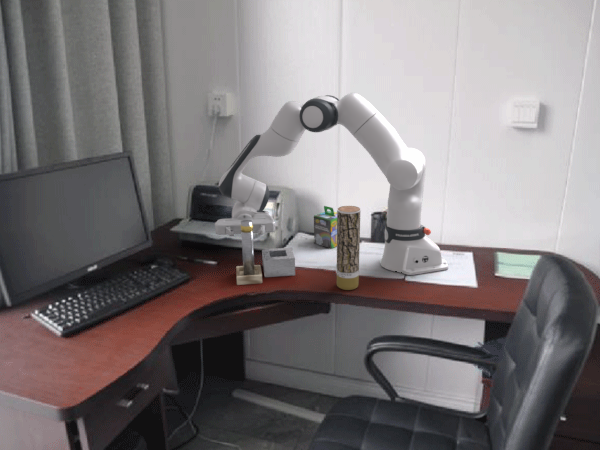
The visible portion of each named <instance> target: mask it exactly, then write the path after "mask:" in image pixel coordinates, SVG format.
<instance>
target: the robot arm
mask: <svg viewBox="0 0 600 450" xmlns="http://www.w3.org/2000/svg"><path fill="white" fill-rule="evenodd" d="M337 125H340V126H343V127H345V129H346V130H348V132H349V133H350V134H351V135H352V136H353V137H354V138H355V139H356V141H357V142H358V143H359V144H360V146H362V148H363V149H365V151H367V153H368V154H369V155H370V157H371V158H372V159H373V161H374V163H375V164H376V166H377V167H378V168H379V170H380V171H381V173H382V174H383V175H384V177H385V178H386V179H387V182H388V184H389V193H388V199H387V213H386V214H387V215H386V223H385V226H384V227H385V229H384V249H383V252H382V256H381V259H380V262H379V263H380V264H379V265H380V266H381V267H382V268H384V269H386V270H389V271H392V272H395V271H397V272H396V273H401V272H402V273H401V274H403V275H406V276H407V275H408V276H414V275H420V274H426V273H434V272H439V271H446V270H448V268H449V264H448V262H447V260H446V259H445V258H444V257H443V256H442V252H441V249H440V247H439V246H438V244H436V242H434V241H433V240H432V239H430V238H429V237H428V236H430V234H431V233H432V230H431V229H430V228H428V227H426V226H424V225H422V224H421V223H422V222H421V220H422V210H423V209H422V208H423V197H424V187H425V180H426V179H425V178H426V177H425V176H426V168H427V160H426V158H425V156H424V154H423V153H422V152H421V151H420V150H419V149H417V148H413V147H408V146H407V145H406V144H405V142H404V141H403V139H402V138H401V137H400V135H399V133H398V132H397V130H396V129H395V127H393V126H392V125H391V123H390V122H389V121H388V120H387V119H386V118H385V116H383V114H382V113H381V112H380V111H379V110H378V109H376V107H375V106H374V105H373V104H372V103H371V102H370V101H368V100H367V99H366V98H365V97H363V96H362V95H361V94H359V93H357V92H350V93H347V94H345V95H343V97H342V98H340V99H339V98H338V97H336V96H334V95H328V94H327V95H320V96H316V97H313V98H310V99H309V100H307V101H306V102H305V103H304V104H303V103H301V102H298V101H295V100H290V101H287V102H285V103H284V104H283V105H282V107H281V108H280V109H279V111H278V112H277V114H276V115H275V117H274V119H273V120H272V122H271V124H270V126H269V127H268V128H267V130H265V132H263V133H261V134H255V136H253V137H252V138H251V139H250V141H248V143H247V144H246V145H245V146H244V148H243V149H242V151H241V152H240V153H239V155H238V156H237V157H236V159H235V160H234V161H233V162H232V164H231V165H230V167H228V169H227V170H226V171H225V172H224V173H223V174H222V176H221V177H220V179H219V182H218V187H217V188H218V190H219V192H220V193H221V195H222V196H223V197H226V198H229V199H233V200H235V201H236V202H234V204H233V207H232V209H231V217H230V218H220V219H217V221H214V229H215V230H214V231H215V235H217V236H221V235H222V236H225V235H228V236H229V237H235V235H241V221H243V220H252V224H253V234H258V236H262V235H264V233H265V234H266V233H274V232H275V231H276V222H275V219H274V217H273V216H272V215H271V214H270V213H269V212H270V211H267V210H265V208H266V206H267V205H268V203H269V199H270V190H269V189H270V188H269V186H268V185H267V184H266V183H264V182H262V181H260V180H258V179H255V178H253V177H250V176H248V175H246V174H244V173H243V171H244V170H245V168H246V167H247V166H248V164H249V163H250V162H251V160H252V159H254V158H256V157H275V158H279V157H280V158H281V157H285V156H288V155H290V154H291V153H293V151H294V150H295V148H296V147H297V145H298V144H299V142H300V140H301V138H302V136H303V134H304V133H305V131H308V132H311V133H322V132H325V131H328V130H330V129H332V128H334V127H335V126H337Z"/></svg>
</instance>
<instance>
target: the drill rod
mask: <svg viewBox="0 0 600 450" xmlns="http://www.w3.org/2000/svg"><path fill="white" fill-rule="evenodd" d="M240 235H241V250H242V266H243V273H244V276H245V275H255V268H254V265H255V252H254V251H255V250H254V233H253V224H252V220H243V221H241V234H240Z"/></svg>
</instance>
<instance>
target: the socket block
mask: <svg viewBox="0 0 600 450" xmlns="http://www.w3.org/2000/svg"><path fill="white" fill-rule="evenodd" d="M261 253H262V269H263V275H264V278H275V277H290V276H291V277H292V276H296V258H295V254H294V251H293V248H292V247H278V248H262V249H261Z"/></svg>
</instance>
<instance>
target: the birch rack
mask: <svg viewBox="0 0 600 450" xmlns="http://www.w3.org/2000/svg"><path fill="white" fill-rule="evenodd" d="M254 268H255V275H245V276H244V273H243V265H237V266H236V267H235V269H236V270H235V271H236V272H235V273H236V285H237V286H240V285H242V286H244V285H257V284H263V273H262V266H261V264H254Z"/></svg>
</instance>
